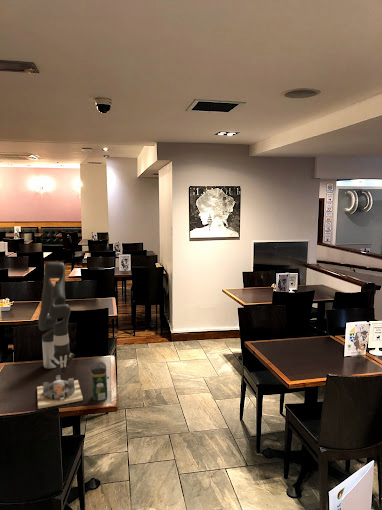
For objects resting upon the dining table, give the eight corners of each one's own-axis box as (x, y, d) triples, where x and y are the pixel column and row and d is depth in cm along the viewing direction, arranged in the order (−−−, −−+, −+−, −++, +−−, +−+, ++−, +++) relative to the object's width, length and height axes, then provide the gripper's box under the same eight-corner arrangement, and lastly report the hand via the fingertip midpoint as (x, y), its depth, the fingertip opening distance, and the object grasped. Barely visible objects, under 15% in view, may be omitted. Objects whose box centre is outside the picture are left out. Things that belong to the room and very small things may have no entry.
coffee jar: (92, 393, 219) (90, 361, 216) (107, 391, 221) (105, 359, 218) (92, 402, 210) (90, 368, 207) (107, 400, 212) (106, 367, 209)
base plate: (37, 389, 224) (36, 377, 223) (78, 382, 232) (77, 370, 231) (38, 408, 204) (37, 395, 203) (82, 400, 212) (82, 387, 211)
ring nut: (73, 382, 228) (72, 372, 227) (75, 395, 213) (75, 385, 212) (43, 387, 223) (42, 377, 222) (43, 401, 208) (42, 390, 207)
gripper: (71, 337, 215) (72, 367, 218) (46, 342, 208) (48, 374, 210) (76, 341, 209) (77, 372, 212) (50, 347, 202) (52, 379, 204)
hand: (63, 373), depth 211 cm, fingers closed
